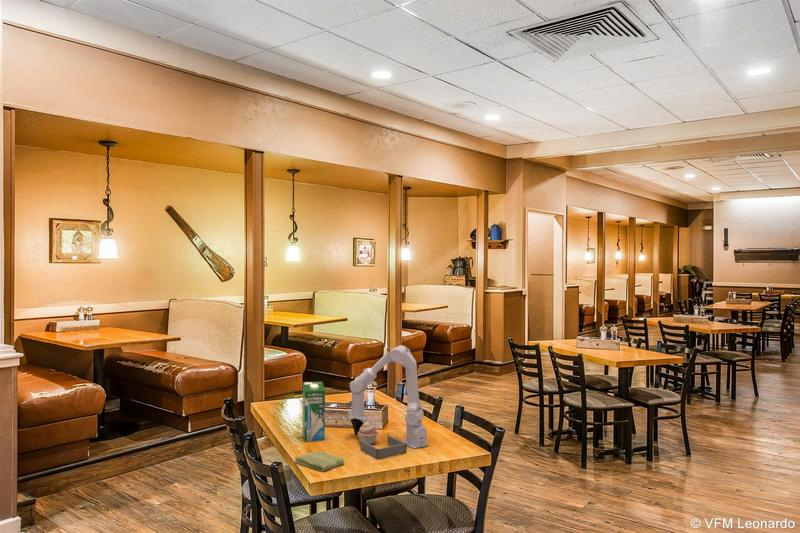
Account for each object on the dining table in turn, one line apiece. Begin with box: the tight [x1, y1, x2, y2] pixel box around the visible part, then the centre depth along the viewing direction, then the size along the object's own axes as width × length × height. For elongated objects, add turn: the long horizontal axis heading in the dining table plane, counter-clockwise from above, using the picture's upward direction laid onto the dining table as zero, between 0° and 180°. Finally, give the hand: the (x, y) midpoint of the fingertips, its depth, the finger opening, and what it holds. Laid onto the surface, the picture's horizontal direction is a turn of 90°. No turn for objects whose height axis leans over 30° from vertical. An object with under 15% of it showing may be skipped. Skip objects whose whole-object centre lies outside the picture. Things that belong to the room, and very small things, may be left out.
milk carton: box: [302, 381, 326, 442], centre depth 261 cm, size 9×9×25 cm
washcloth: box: [294, 450, 345, 473], centre depth 229 cm, size 13×18×3 cm
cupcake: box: [357, 420, 379, 446], centre depth 254 cm, size 9×9×10 cm
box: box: [359, 434, 408, 460], centre depth 244 cm, size 14×15×4 cm
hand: (357, 435), depth 262 cm, fingers closed
